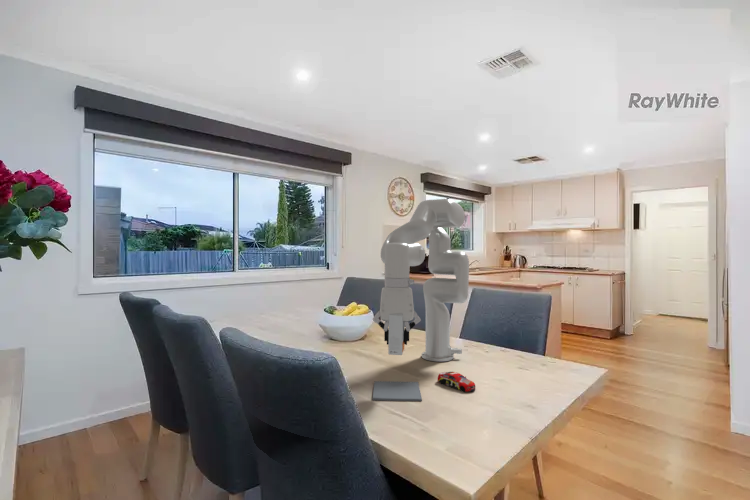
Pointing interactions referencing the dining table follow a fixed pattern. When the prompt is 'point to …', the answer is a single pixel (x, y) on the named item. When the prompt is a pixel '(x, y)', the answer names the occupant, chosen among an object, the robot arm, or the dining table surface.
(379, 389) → the mat
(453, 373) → the race car
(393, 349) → the skincare box
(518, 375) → the dining table surface
